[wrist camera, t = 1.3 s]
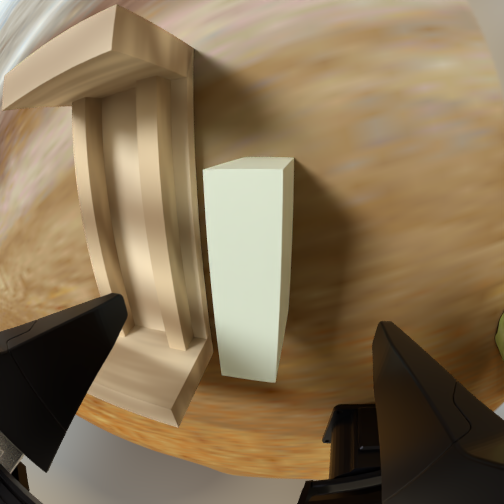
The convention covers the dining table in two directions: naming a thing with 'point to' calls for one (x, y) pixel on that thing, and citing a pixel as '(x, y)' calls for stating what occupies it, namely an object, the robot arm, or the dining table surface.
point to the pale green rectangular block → (250, 261)
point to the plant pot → (500, 336)
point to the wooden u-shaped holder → (133, 196)
